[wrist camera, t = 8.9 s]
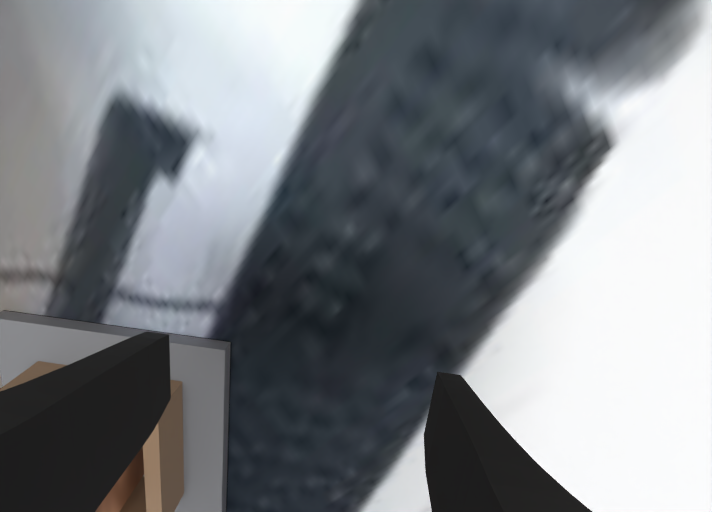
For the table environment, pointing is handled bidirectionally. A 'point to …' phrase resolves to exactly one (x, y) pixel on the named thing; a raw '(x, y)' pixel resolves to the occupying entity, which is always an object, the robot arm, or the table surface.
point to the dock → (178, 422)
